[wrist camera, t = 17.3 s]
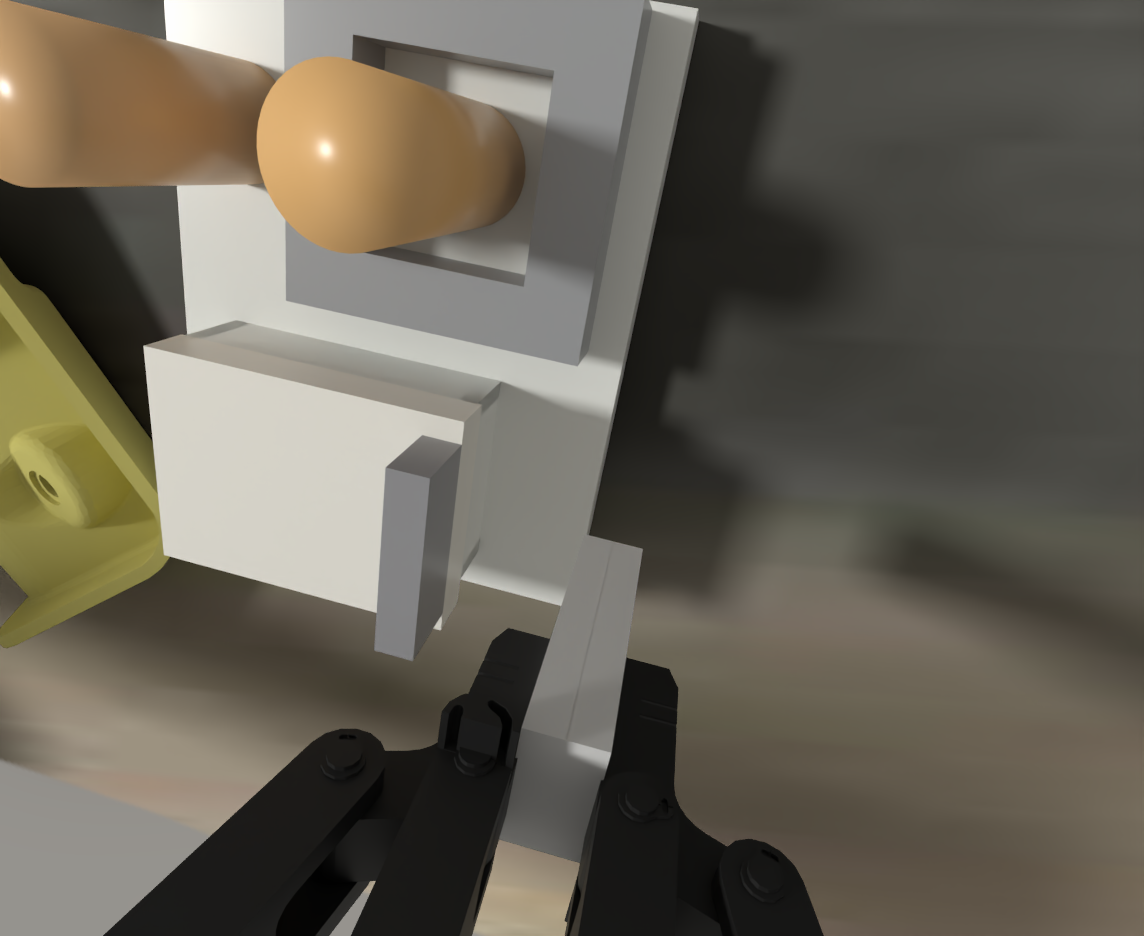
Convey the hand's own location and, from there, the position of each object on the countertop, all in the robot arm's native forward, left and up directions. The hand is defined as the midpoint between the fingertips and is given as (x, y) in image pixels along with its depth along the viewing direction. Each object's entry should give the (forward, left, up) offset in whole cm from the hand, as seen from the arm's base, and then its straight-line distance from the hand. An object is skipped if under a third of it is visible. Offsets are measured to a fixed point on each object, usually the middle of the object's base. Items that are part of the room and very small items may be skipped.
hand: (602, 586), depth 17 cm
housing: (-9, +4, -9) cm, 13 cm away
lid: (-10, -1, -4) cm, 11 cm away
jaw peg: (-7, +9, -7) cm, 13 cm away
